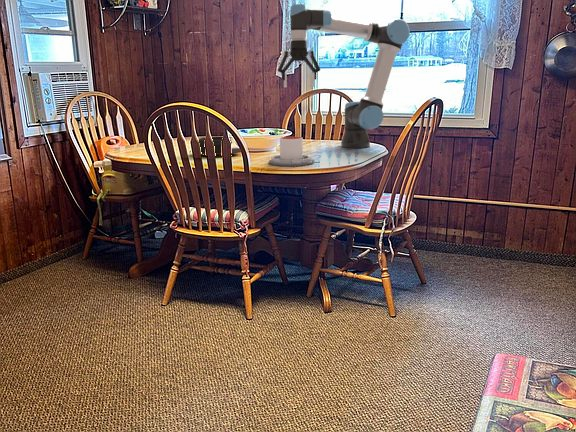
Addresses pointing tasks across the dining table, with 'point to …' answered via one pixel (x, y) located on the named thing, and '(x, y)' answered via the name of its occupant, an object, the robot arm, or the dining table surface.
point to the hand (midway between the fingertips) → (299, 87)
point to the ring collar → (291, 161)
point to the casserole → (217, 145)
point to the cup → (291, 148)
